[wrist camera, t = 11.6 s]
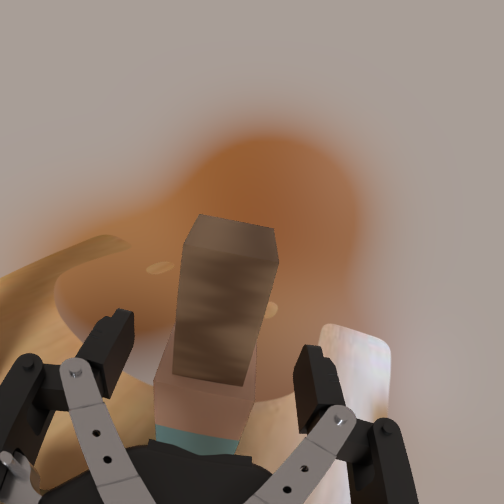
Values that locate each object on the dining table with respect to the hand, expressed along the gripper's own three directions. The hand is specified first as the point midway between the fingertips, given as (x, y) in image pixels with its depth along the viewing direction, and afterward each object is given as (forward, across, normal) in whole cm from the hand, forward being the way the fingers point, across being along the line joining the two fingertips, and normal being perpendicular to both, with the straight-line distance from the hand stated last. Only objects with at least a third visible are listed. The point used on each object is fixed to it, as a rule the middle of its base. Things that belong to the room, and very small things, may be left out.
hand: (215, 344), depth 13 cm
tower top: (+6, 0, +13) cm, 14 cm away
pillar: (+6, 0, +7) cm, 9 cm away
